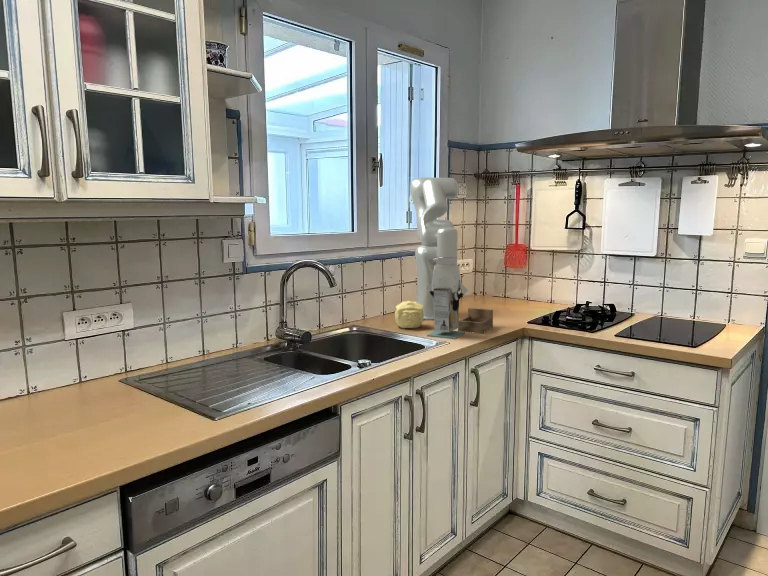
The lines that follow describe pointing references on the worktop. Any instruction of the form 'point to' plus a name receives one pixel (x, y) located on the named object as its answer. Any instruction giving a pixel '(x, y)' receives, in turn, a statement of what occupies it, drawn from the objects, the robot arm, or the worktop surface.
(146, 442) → the worktop surface
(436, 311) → the coffee box
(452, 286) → the robot arm
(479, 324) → the packet holder
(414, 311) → the sculpture
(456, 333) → the mat
